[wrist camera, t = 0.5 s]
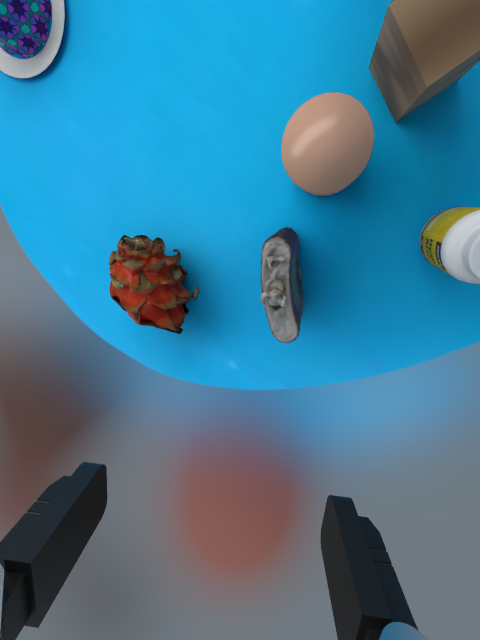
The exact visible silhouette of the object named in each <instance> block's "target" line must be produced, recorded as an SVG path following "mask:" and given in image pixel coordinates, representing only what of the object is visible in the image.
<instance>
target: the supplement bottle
mask: <svg viewBox="0 0 480 640" xmlns="http://www.w3.org/2000/svg"><path fill="white" fill-rule="evenodd" d="M419 247H420V251H421V253H422V255H423V257H424V258H425V259H426V260H427V261H428V262H430V263H431V264H432V265H434V266H436V267H438V268H439V269H441V270H443V271H444V272H446V273H448V274H449V275H451V276H453V277H454V278H456V279H458V280H460V281H463V282H466V283H471V284H480V207H452V208H448V209H445V210H443V211H440V212H439V213H437V214H435V215H434V216H433V217H432V218H431V219H429V220H428V222H427V223H426V224H425V225H424V227H423V229H422V231H421V233H420V237H419Z"/></svg>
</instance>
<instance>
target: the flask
mask: <svg viewBox="0 0 480 640" xmlns="http://www.w3.org/2000/svg"><path fill="white" fill-rule="evenodd" d="M298 243H299V242H298V235H297V234H296V232H294V231H293V230H292V228H283V229H280V230H279V231H278V232H277V233H275V234H274V235H272V236H271V237H270V238H268V239H267V240H266V241H265V242H264V245H263V247H262V254H261V258H262V259H261V287H262V295H261V302H263V303H264V304H263V306H264V307H265V310H266V315H267V318H268V322H269V325H270V328H271V331H272V334H273V335H274V337H275V338H276V340H278V341H280V342H283V343H290V342H292V341H294V340H296V338H297V337H298V335H299V330H300V323H301V317H302V312H303V308H304V304H305V303H304V293H303V292H302V286H301V284H302V283H301V282H302V274H301V269H300V268H299V266H298V261H299V260H300V259H299V257H298V255H297V252H298V249H299V248H298Z"/></svg>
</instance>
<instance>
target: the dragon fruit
mask: <svg viewBox="0 0 480 640" xmlns="http://www.w3.org/2000/svg"><path fill="white" fill-rule="evenodd" d="M117 247H118V250H117V251H113V252H112V253H111V255H110V258H109V266H110V272H111V273H110V277H111V283H110V296H111V298H112V299H113V300H114V301H116V302H117V303H118V304H119V305H120V307H121V308H122V309H123V310H125V311H127V313H128V315H129V316H130V317H131V318H132V319H133V320H134V321H135V322H136V323H137V324H139V325H145V326H154V327H156V328H160V329H164V330H167V331H171V332H175V333H178V334H180V333H182V331H183V330H182V329H181V328H180V327H181V326H182V324H183V323H184V318H185V316H186V315H187V314H188V312H189V310H188V308H187V307H186V303H189V301H188V299H189V298H191V297H193V298H194V300H195V299H196V298H197V296H198V294H199V287H198V286H197V287H196V289H195V290H194V293H191V292H189V291H188V290H186V289H185V288H183V286H182V285H181V280H182V279H184V278H185V277H186V276H187V271H186V270H185V269H184V268H183V267H182V266H181V265H177V264H178V263H179V262H180V260H181V253H180V251H179V250H178V249H174V250H173V251H174V252H178V253H177V255H175V256H166V255H165V254H164V251H165V244H164V242H163V240H162V239H161V238H158V237H157V238H156V239H155V240H154V241H152V240H151V239H149V238H148V237H147V236H145V235H138V236H135V237H134V238H130V237H127V236H126V235H125V236H124V235H123V237H122V238H121V239H120V241H119V242H118V245H117ZM182 298H183V299H182ZM183 309H184V310H183ZM189 328H190V327H189ZM184 331H185V330H184Z"/></svg>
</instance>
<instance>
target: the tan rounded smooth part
mask: <svg viewBox="0 0 480 640" xmlns="http://www.w3.org/2000/svg"><path fill="white" fill-rule="evenodd" d="M373 144H374V129H373V124H372V120H371V118H370V115H369V113H368V112H367V110H366V108H365V107H364V106H363V105H362V104H361V103H360V102H359V101H358V100H356V99H355V98H353V97H352V96H349V95H347V94H343V93H336V92H332V93H325V94H321V95H318V96H315V97H313V98H311V99H310V100H308V101H307V102H305V103H304V104H303V105H302V106H300V107H299V108H298V109H297V111H296V112H295V113H294V114H293V116H292V117H291V119H290V120H289V122H288V124H287V126H286V129H285V131H284V135H283V139H282V148H281V152H282V160H283V164H284V167H285V170H286V172H287V174H288V175H289V177H290V178H291V179H292V181H293V182H294V183H295V184H297V185H298V186H299V187H300V188H302V189H303V190H304V191H306V192H307V193H309V194H311V195H314V196H319V197H326V196H331V195H334V194H336V193H338V192H340V191H342V190H343V189H344V188H346V187H347V186H348V185H349V184H351V183H352V182H353V181H354V180H355V179H356V178H357V177H358V176H359V175H360V174H361V173H362V171H363V170H364V168H365V167H366V165H367V163H368V161H369V159H370V156H371V153H372V149H373Z"/></svg>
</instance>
